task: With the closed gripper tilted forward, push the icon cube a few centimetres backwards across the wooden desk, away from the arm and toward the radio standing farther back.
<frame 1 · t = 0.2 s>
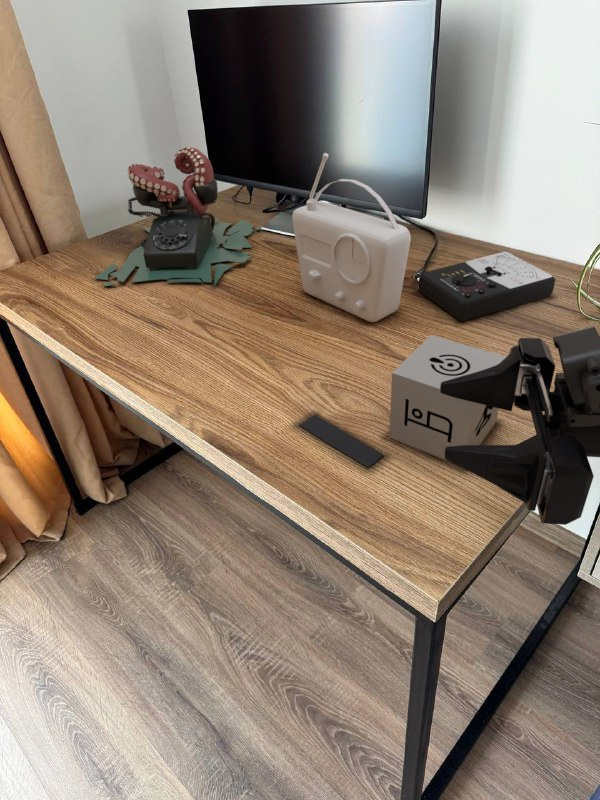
hand: (442, 418, 52), 16 cm above the table, tool horizontal, fingers open, 9 cm apart
felt mark: (340, 440, 75), on the table
icon cube: (443, 430, 75), on the table
telephone: (184, 252, 128), on the table
radio: (346, 304, 104), on the table
multimeter: (483, 295, 104), on the table
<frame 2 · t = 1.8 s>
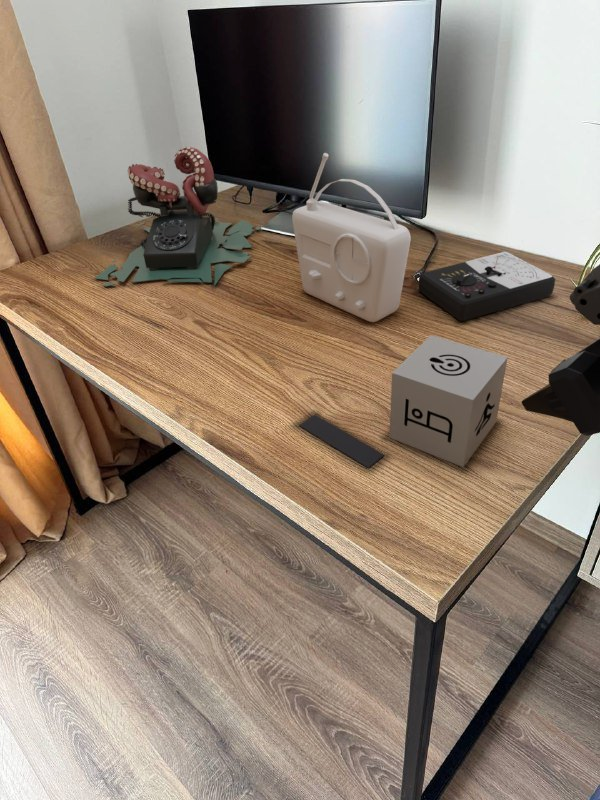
hand: (546, 384, 60), 13 cm above the table, tool tilted 45°, fingers open, 9 cm apart
nothing on the table moved.
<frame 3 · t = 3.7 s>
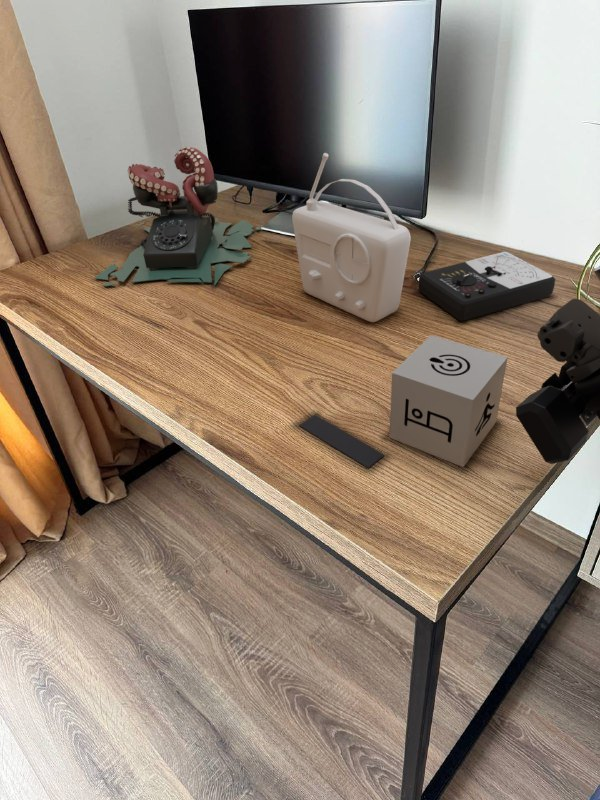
hand: (521, 412, 65), 8 cm above the table, tool tilted 45°, fingers closed
nothing on the table moved.
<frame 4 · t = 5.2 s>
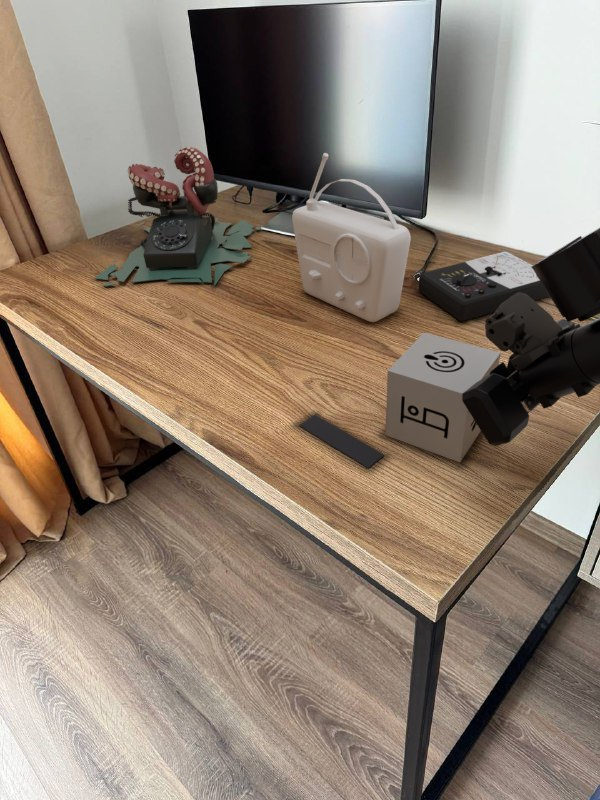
hand: (475, 400, 69), 7 cm above the table, tool tilted 45°, fingers closed, pressing on icon cube
icon cube: (438, 427, 76), on the table, touching gripper
everything else where it was.
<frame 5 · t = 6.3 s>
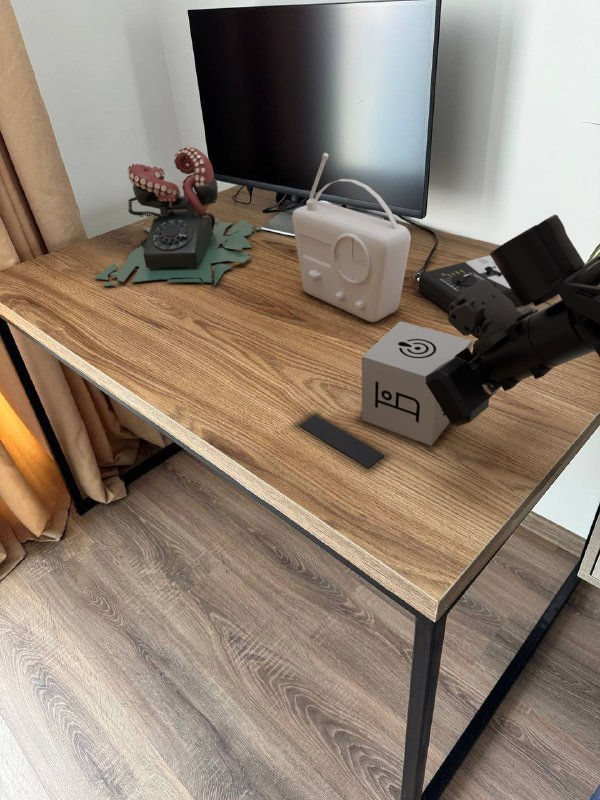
hand: (444, 385, 71), 7 cm above the table, tool tilted 45°, fingers closed, pressing on icon cube
icon cube: (413, 413, 79), on the table, touching gripper
everything else where it was.
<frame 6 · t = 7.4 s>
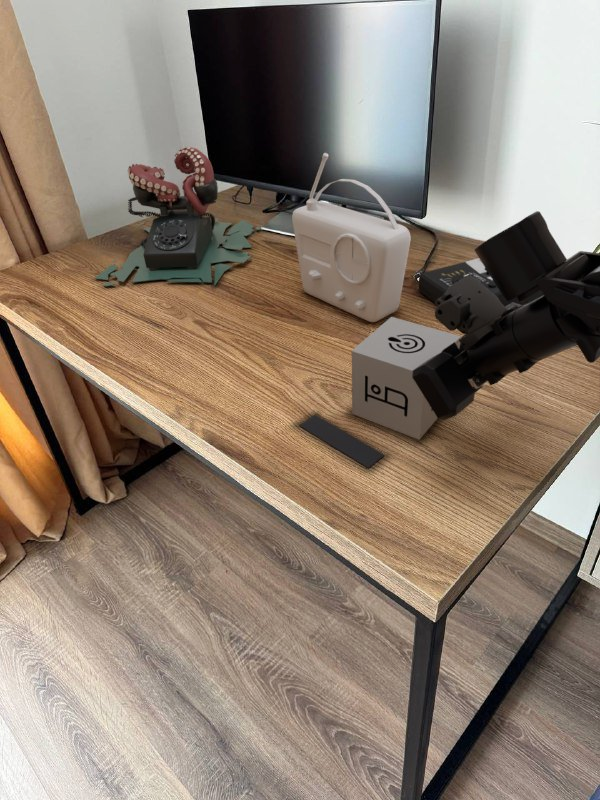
hand: (432, 380, 72), 7 cm above the table, tool tilted 45°, fingers closed
icon cube: (403, 407, 80), on the table
everything else where it was.
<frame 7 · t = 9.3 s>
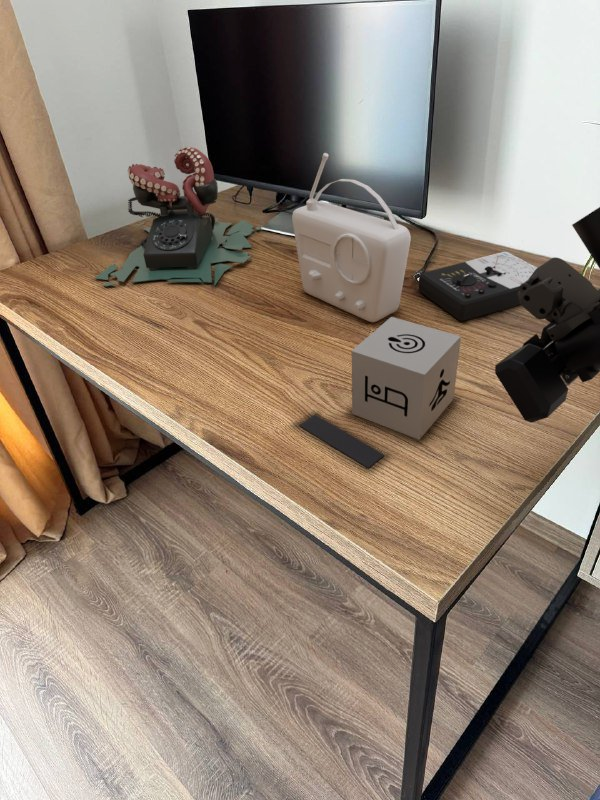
hand: (504, 377, 64), 11 cm above the table, tool tilted 45°, fingers closed
nothing on the table moved.
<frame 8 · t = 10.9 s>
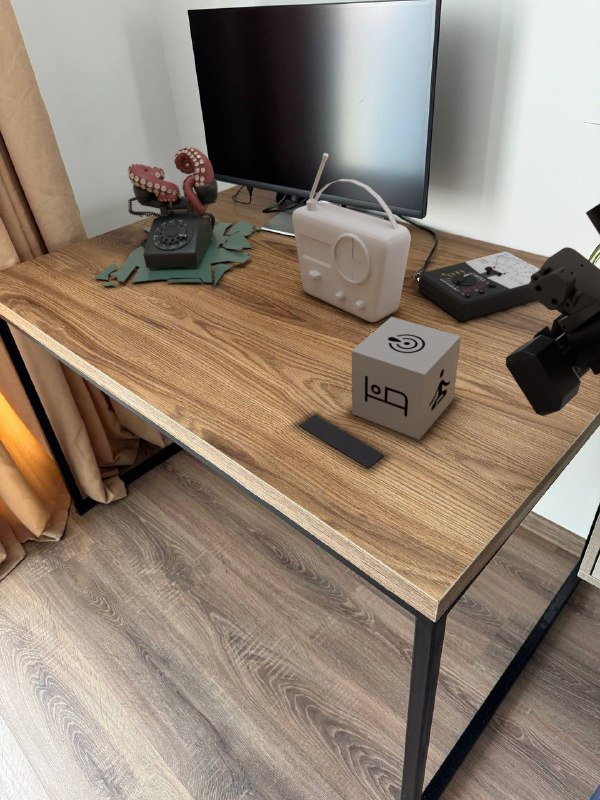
hand: (513, 371, 63), 13 cm above the table, tool tilted 45°, fingers closed
nothing on the table moved.
at the end: icon cube moved 6.8 cm from its start; icon cube 31.0 cm from the radio (horizontally); icon cube tilted 0° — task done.
